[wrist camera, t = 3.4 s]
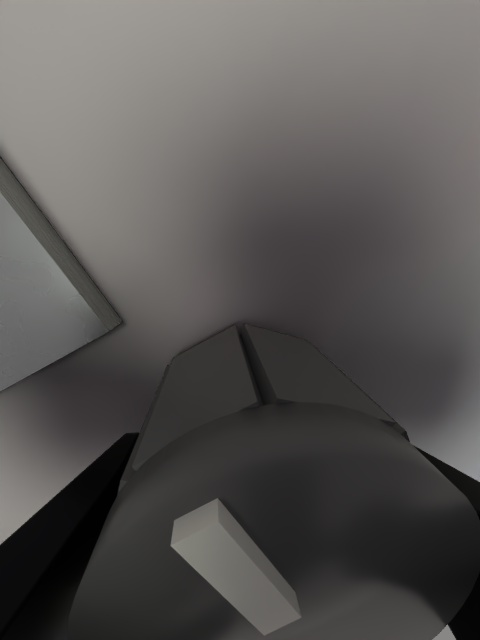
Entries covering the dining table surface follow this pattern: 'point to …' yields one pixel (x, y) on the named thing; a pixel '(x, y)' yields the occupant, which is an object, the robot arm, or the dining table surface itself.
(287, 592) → the knob
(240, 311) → the dining table surface
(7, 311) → the mounting plate
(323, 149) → the dining table surface
